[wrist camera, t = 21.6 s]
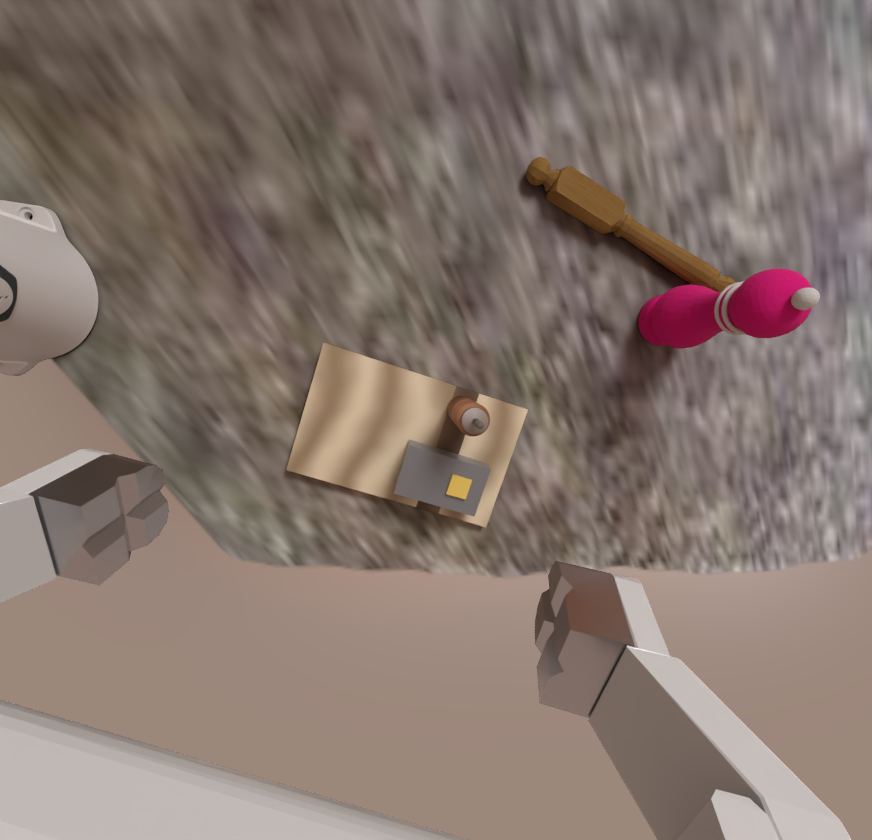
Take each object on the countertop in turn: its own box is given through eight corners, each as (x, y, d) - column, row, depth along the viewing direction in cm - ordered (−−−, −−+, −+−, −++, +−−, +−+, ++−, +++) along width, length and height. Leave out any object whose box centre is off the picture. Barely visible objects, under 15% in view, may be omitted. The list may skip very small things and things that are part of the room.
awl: (443, 418, 51) (457, 437, 39) (452, 392, 51) (469, 402, 38) (469, 426, 52) (491, 448, 39) (478, 400, 51) (503, 414, 39)
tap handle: (735, 304, 51) (526, 172, 46) (716, 307, 54) (518, 183, 49) (748, 281, 51) (540, 146, 46) (728, 286, 54) (531, 159, 49)
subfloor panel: (288, 467, 52) (286, 470, 50) (325, 343, 50) (323, 342, 49) (484, 523, 55) (486, 527, 54) (525, 408, 53) (527, 409, 52)
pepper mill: (635, 291, 52) (777, 250, 32) (689, 290, 53) (862, 249, 33) (632, 350, 53) (769, 344, 34) (686, 348, 54) (851, 342, 34)
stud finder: (394, 484, 52) (393, 494, 48) (408, 439, 51) (409, 445, 47) (469, 506, 53) (474, 517, 49) (484, 462, 52) (491, 470, 49)
